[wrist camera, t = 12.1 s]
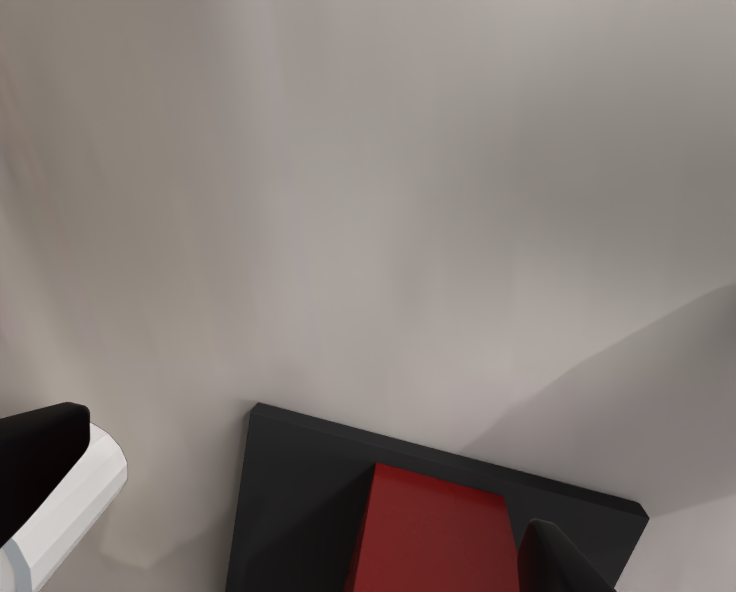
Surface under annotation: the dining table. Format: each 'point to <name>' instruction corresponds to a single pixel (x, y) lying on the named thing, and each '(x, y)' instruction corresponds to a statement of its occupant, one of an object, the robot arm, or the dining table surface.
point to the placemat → (349, 494)
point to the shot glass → (64, 516)
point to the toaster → (431, 538)
